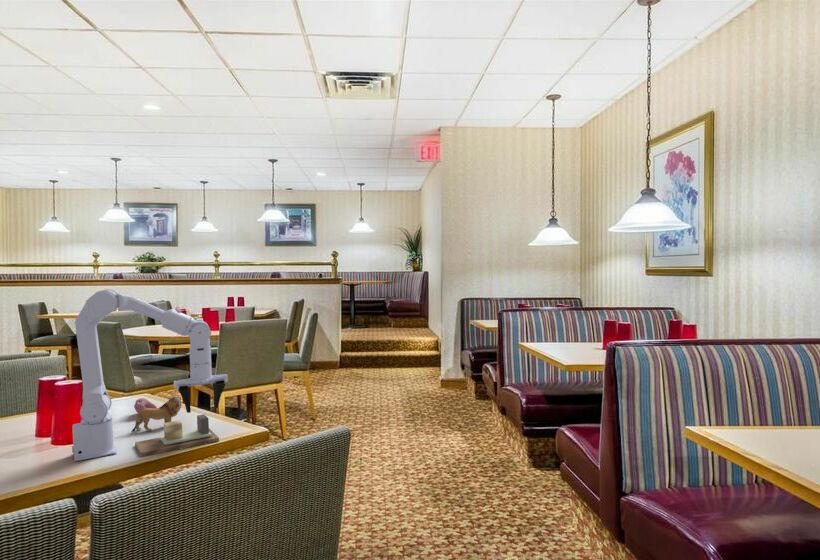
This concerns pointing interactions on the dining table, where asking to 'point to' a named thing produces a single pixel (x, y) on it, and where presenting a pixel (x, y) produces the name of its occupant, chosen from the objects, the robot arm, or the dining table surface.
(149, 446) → the board
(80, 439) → the robot arm
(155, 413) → the lion figurine
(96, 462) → the dining table surface
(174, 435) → the cube
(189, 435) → the grey holder stand
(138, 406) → the pink purple rounded lump
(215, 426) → the dining table surface
